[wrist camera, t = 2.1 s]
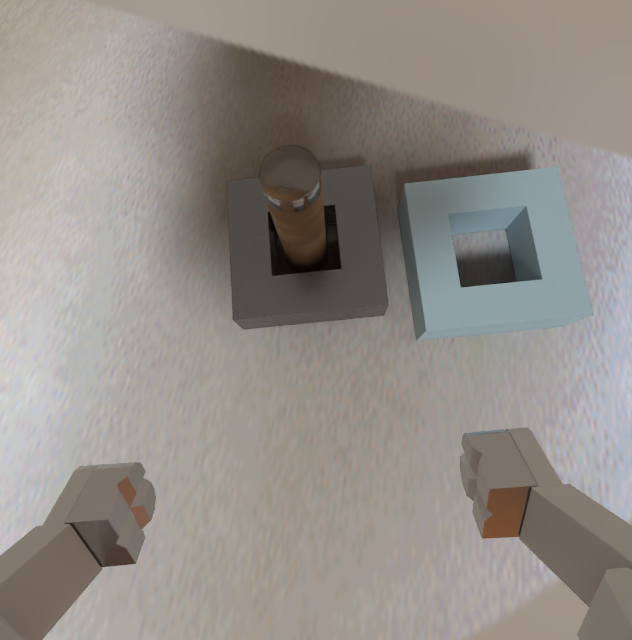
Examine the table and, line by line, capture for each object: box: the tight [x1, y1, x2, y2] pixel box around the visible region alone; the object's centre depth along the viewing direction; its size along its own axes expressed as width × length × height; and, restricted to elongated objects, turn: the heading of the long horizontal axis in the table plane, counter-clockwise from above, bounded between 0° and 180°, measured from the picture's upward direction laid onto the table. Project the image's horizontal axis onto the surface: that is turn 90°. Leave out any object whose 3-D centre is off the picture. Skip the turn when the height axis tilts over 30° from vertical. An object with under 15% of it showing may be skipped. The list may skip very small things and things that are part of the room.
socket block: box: [227, 165, 388, 329], centre depth 30 cm, size 10×10×3 cm
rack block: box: [398, 167, 593, 341], centre depth 29 cm, size 10×10×4 cm
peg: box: [259, 145, 328, 273], centre depth 26 cm, size 3×3×11 cm
